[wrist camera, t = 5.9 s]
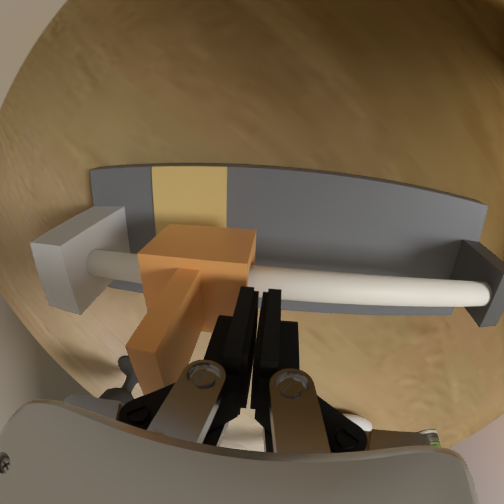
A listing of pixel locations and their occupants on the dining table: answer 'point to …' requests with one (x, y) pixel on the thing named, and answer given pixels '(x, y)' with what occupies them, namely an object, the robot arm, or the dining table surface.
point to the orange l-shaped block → (186, 295)
